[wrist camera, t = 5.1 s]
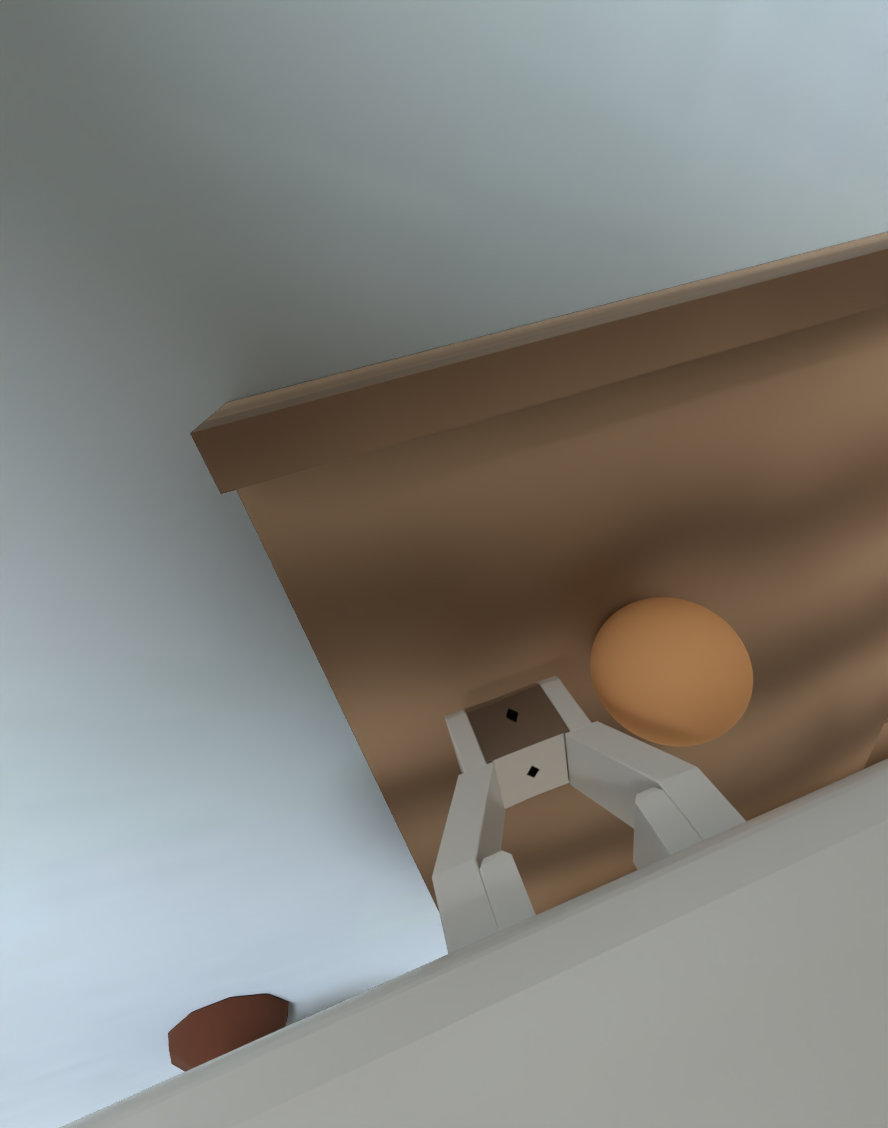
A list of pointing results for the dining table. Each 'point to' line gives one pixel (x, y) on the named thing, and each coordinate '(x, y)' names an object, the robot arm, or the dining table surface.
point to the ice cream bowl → (224, 1028)
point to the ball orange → (671, 671)
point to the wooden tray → (593, 533)
